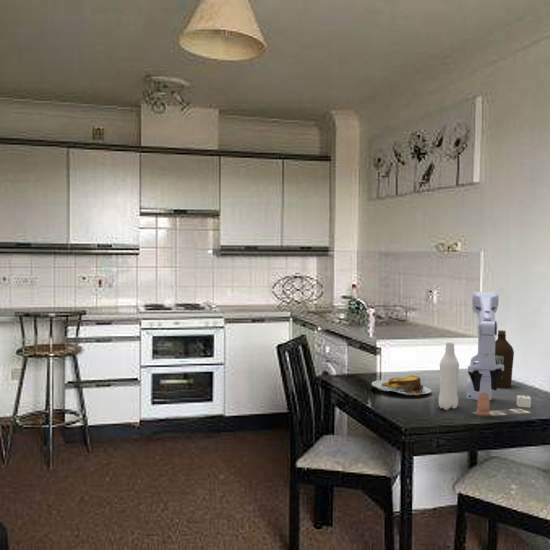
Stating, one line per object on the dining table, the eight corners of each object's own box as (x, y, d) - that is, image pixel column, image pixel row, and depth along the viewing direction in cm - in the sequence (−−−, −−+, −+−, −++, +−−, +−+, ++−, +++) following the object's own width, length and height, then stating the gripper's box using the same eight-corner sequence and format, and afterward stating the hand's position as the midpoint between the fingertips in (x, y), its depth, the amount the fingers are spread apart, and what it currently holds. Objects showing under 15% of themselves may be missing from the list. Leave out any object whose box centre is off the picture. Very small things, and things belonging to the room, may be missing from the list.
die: (518, 409, 233) (518, 397, 233) (516, 406, 238) (516, 395, 238) (530, 410, 232) (531, 398, 232) (528, 407, 237) (529, 395, 236)
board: (483, 419, 217) (483, 417, 217) (470, 414, 224) (470, 412, 224) (532, 415, 225) (532, 412, 225) (518, 410, 231) (518, 408, 231)
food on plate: (371, 384, 274) (372, 369, 274) (428, 387, 270) (428, 372, 270) (371, 397, 249) (372, 381, 248) (434, 401, 245) (434, 384, 245)
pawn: (475, 414, 220) (476, 392, 220) (477, 411, 224) (478, 390, 224) (488, 416, 218) (489, 394, 218) (490, 413, 222) (491, 391, 222)
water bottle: (458, 411, 228) (461, 345, 227) (439, 410, 229) (441, 344, 228) (456, 407, 235) (458, 342, 234) (437, 405, 236) (439, 341, 235)
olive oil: (495, 382, 282) (497, 328, 281) (517, 386, 273) (519, 331, 272) (482, 385, 275) (484, 330, 274) (504, 389, 267) (506, 333, 266)
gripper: (477, 356, 216) (475, 394, 217) (510, 354, 221) (509, 391, 221) (464, 353, 223) (463, 389, 223) (497, 351, 227) (496, 387, 228)
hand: (485, 390), depth 223 cm, fingers open, 7 cm apart
